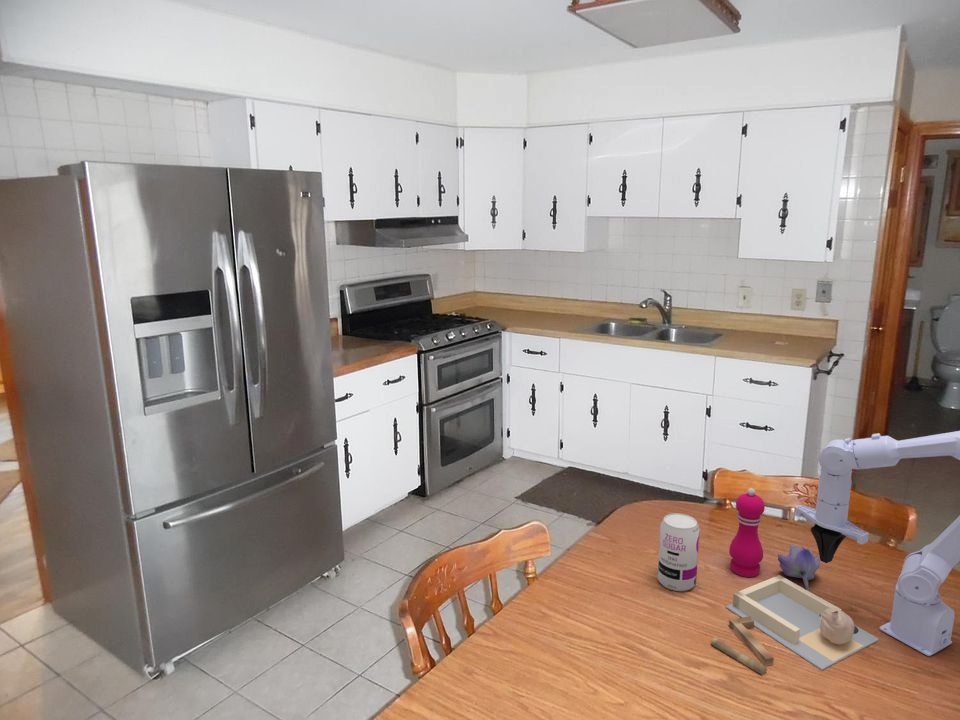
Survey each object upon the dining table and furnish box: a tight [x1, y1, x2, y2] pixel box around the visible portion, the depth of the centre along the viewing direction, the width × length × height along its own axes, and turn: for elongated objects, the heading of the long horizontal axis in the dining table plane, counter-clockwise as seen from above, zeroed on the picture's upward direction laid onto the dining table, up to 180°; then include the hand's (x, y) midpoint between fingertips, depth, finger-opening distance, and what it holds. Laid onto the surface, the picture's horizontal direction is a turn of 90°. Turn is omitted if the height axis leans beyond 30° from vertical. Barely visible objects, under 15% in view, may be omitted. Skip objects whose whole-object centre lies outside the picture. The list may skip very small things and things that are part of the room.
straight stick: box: [710, 637, 768, 676], centre depth 125 cm, size 11×2×2 cm
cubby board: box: [725, 574, 880, 671], centre depth 135 cm, size 22×17×3 cm
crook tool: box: [728, 617, 774, 667], centre depth 129 cm, size 12×4×2 cm, turn 12°
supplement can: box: [657, 512, 701, 592], centre depth 148 cm, size 8×8×15 cm
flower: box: [777, 544, 821, 592], centre depth 149 cm, size 9×8×10 cm
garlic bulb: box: [819, 608, 856, 644], centre depth 129 cm, size 7×6×8 cm
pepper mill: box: [728, 487, 765, 578], centre depth 152 cm, size 7×7×20 cm
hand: (826, 560), depth 138 cm, fingers closed
